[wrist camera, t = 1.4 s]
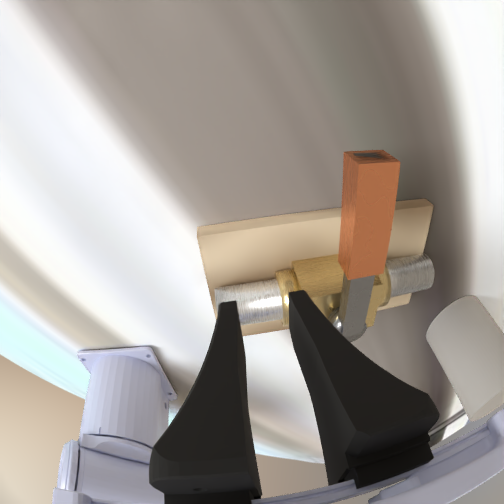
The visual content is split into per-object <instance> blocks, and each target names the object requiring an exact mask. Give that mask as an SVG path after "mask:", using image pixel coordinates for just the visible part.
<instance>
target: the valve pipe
mask: <svg viewBox="0 0 504 504" xmlns="http://www.w3.org/2000/svg"><path fill="white" fill-rule="evenodd" d="M343 276H344V271H343V270H342V268H341V266H340V264H339V262H338V254H334V255H328V256H322V257H315V258H309V259H302V260H296V261H291V269H289V270H282V271H276V272H275V279H272V280H266V281H259V282H252V283H246V284H239V285H232V286H225V287H218V288H215V302H216V309H217V315H218V306H219V304H220V303H221V302H228V301H235V300H236V301H237V307H238V313H239V319H240V325H241V326H242V325H248V324H255V323H261V322H268V321H274V320H281V323H282V325H283V326H288V325H289V297H288V292H293V291H299V290H305V291H306V292H307V294H308V295H309V297H310V298H311V299H312V301H313V302H314V303H315V305H316V306H317V307H318V308H319V310H320V311H321V312H322V313H323V314H324V316H325V317H326V318H327V319H328V317H329V315H330V313H331V312H332V311H333V310H334V309H336V308H337V307H339V306H340V300H341V292H342V284H343ZM433 282H434V267H433V264H432V261H431V260H430V258H429V257H428V256H427V255H426V254H418V255H412V256H407V257H402V258H396V259H391V260H386V263H385V268H384V273H383V274H378V275H375V279H374V284H373V289H372V294H371V298H370V303H369V308H368V312H367V316H366V321H365V322H366V324H367V327H370V326H373V324H374V320H375V316H376V312H377V308H378V307H382V306H386V305H387V304H388V302H389V300H390V298H391V297H396V296H400V295H404V294H408V293H413V292H417V291H421V290H425V289H429V288H430V287H431V286H432V285H433Z"/></svg>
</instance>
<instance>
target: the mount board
mask: <svg viewBox="0 0 504 504" xmlns="http://www.w3.org/2000/svg"><path fill="white" fill-rule="evenodd" d="M341 210H342V207H341V208H332V209H324V210H316V211H308V212H300V213H293V214H285V215H278V216H270V217H263V218H256V219H248V220H241V221H234V222H228V223H221V224H214V225H207V226H201V227H197V239H198V244H199V248H200V253H201V257H202V262H203V266H204V271H205V275H206V279H207V284H208V288H209V292H210V296H211V301H212V305H213V309H214V313H215V317H216V320H217V309H216V302H215V288H218V287H225V286H232V285H239V284H246V283H252V282H259V281H266V280H272V279H275V272H276V271H282V270H289V269H291V261H296V260H302V259H309V258H315V257H322V256H328V255H334V254H338V252H339V240H340V226H341ZM432 211H433V205H432V204H431V203H430V202H429V201H428V200H426V199H414V200H404V201H396V203H395V210H394V217H393V223H392V230H391V236H390V241H389V247H388V252H387V258H386V260H391V259H396V258H402V257H407V256H412V255H418V254H423V251H424V247H425V243H426V238H427V234H428V230H429V225H430V221H431V216H432ZM411 294H412V293H408V294H404V295H400V296H396V297H391V298H390V300H389V302H388V304H387V305H386V306H382V307H378V308H377V311H379V310H383V309H387V308H392V307H396V306H400V305H404V304H408V303H409V300H410V297H411ZM285 329H289V325H288V326H283V325H282V323H281V320H274V321H268V322H261V323H255V324H248V325H242V326H241V330H242V336H247V335H254V334H260V333H267V332H273V331H279V330H285Z"/></svg>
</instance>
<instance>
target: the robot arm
mask: <svg viewBox="0 0 504 504" xmlns="http://www.w3.org/2000/svg"><path fill="white" fill-rule="evenodd" d="M288 297H289V329H290V333H291V338H292V342H293V347H294V350H295V353H296V356H297V359H298V362H299V364H300V367H301V370H302V373H303V376H304V379H305V381H306V384H307V387H308V390H309V393H310V396H311V400H312V403H313V408H314V412H315V416H316V421H317V425H318V430H319V435H320V440H321V445H322V450H323V455H324V460H325V465H326V472H327V478H328V484H329V486H326V487H322V488H317V489H313V490H309V491H304V492H299V493H293V494H288V495H282V496H276V497H270V498H263V499H261V495H262V490H261V485H260V479H259V473H258V468H257V462H256V456H255V450H254V444H253V438H252V431H251V425H250V418H249V412H248V399H247V378H246V357H245V350H244V343H243V336H242V330H241V325H240V319H239V313H238V307H237V301H236V300H235V301H228V302H221V303H220V304H219V306H218V315H217V320H216V325H215V329H214V333H213V336H212V339H211V343H210V346H209V349H208V352H207V354H206V357H205V360H204V363H203V365H202V368H201V370H200V372H199V375H198V377H197V379H196V381H195V383H194V385H193V387H192V389H191V391H190V393H189V395H188V397H187V398H186V400H185V402H184V404H183V405H182V407H181V409H180V410H179V412H178V413H177V415H176V416H175V418H174V419H173V421H172V422H171V424H170V425H169V427H168V413H169V400H176V399H177V394H176V393H175V391H174V389H173V387H172V385H171V384H170V382H169V380H168V378H167V376H166V374H165V373H164V371H163V369H162V367H161V365H160V363H159V361H158V359H157V357H156V355H155V354H154V352H153V350H152V348H150V347H134V348H121V349H106V350H88V351H78V353H77V357H78V358H79V359H80V361H81V362H82V363H83V365H84V366H85V367H86V369H87V370H88V371H89V373H90V374H91V375H90V379H89V384H88V389H87V394H86V400H85V405H84V411H83V417H82V423H81V429H80V436H79V439H78V441H74V440H70V441H69V442H67V443H65V444H64V446H63V450H62V454H61V459H60V465H59V472H58V481H57V488H56V487H55V488H54V490H53V502H52V504H330V503H334V502H338V501H341V500H345V499H348V498H352V497H356V496H359V495H362V494H365V493H368V492H371V491H374V490H377V489H380V488H383V487H386V486H389V485H391V484H394V483H397V482H399V481H402V480H404V481H402V482H400V483H398V484H395V485H393V486H391V487H388V488H386V489H384V490H381V491H380V493H379V494H378V495H376V496H374V497H373V498H371V499H369V500H368V503H369V504H449V503H451V502H453V501H454V500H456V499H458V498H459V497H461V496H463V495H465V494H467V493H468V492H470V491H471V490H473V489H475V488H476V487H478V486H480V485H481V484H482V483H484V482H486V481H487V480H489V479H490V478H492V477H493V476H495V475H496V474H498V473H499V472H500V471H502V470H503V469H504V408H503V409H502V410H500V411H498V412H497V413H496V414H494V415H493V416H492V417H491V418H490V419H489V420H488V421H487V422H486V423H485V424H483V425H482V426H480V427H478V428H476V429H474V430H472V431H470V432H468V433H467V434H465V435H463V436H461V437H459V438H457V439H455V440H453V441H451V442H449V443H447V444H445V445H443V446H440V447H438V448H436V449H434V450H432V451H431V449H430V446H429V444H428V442H429V441H430V437H429V435H428V431H429V430H430V429H431V428H432V427H433V425H434V424H435V423H436V422H437V420H438V419H439V412H438V410H437V408H436V406H435V404H434V402H433V401H432V399H431V398H430V396H429V395H428V394H427V393H425V392H423V391H421V390H418V389H416V388H414V387H412V386H410V385H408V384H407V383H405V382H403V381H401V380H400V379H398V378H396V377H395V376H393V375H392V374H390V373H389V372H387V371H386V370H384V369H383V368H381V367H380V366H378V365H377V364H375V363H374V362H373V361H372V360H370V359H369V358H368V357H366V356H365V355H364V354H363V353H362V352H360V351H359V350H358V349H357V348H356V347H355V346H353V345H352V344H351V343H350V342H349V341H348V340H347V339H346V338H345V337H344V336H343V335H342V334H341V333H340V332H339V331H338V330H337V329H336V328H335V327H334V326H333V324H332V323H331V322H330V321H329V320H328V319H327V318H326V317H325V316H324V314H323V313H322V312H321V311H320V310H319V308H318V307H317V306H316V305H315V303H314V302H313V301H312V299H311V298H310V297H309V295H308V294H307V292H306V291H305V290H299V291H293V292H288Z"/></svg>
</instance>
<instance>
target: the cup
mask: <svg viewBox="0 0 504 504" xmlns="http://www.w3.org/2000/svg"><path fill="white" fill-rule="evenodd" d="M426 339H427V341H428V343H429V345H430V346H431V348H432V350H433V352H434V353H435V355H436V357H437V359H438V360H439V362H440V364H441V366H442V368H443V369H444V371H445V373H446V375H447V377H448V379H449V381H450V382H451V384H452V386H453V388H454V390H455V392H456V394H457V396H458V398H459V400H460V402H461V404H462V406H463V408H464V410H465V412H466V414H467V416H468V418H469V420H470V421H471V422H472V421H476V420H478V419H480V418H482V417H484V416H486V415H487V414H489V413H491V412H492V411H494V410H495V409H497V408H498V407H499V406H501V405H502V404H503V403H504V333H503V332H502V331H501V329H500V328H499V326H498V325H497V324H496V322H495V321H494V320H493V318H492V317H491V315H490V314H489V313H488V311H487V310H486V309H485V307H484V306H483V305H482V304H481V302H480V301H479V300H478V298H477V297H475V296H472V295H470V296H465V297H462V298H460V299H458V300H456V301H454V302H453V303H451V304H450V305H448V306H447V307H446V308H445V309H443V310H442V311H441V312H440V313H439V314H438V315H437V317H436V318H435V319H434V320H433V322H432V323H431V325H430V326H429V328H428V330H427V334H426Z"/></svg>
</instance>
